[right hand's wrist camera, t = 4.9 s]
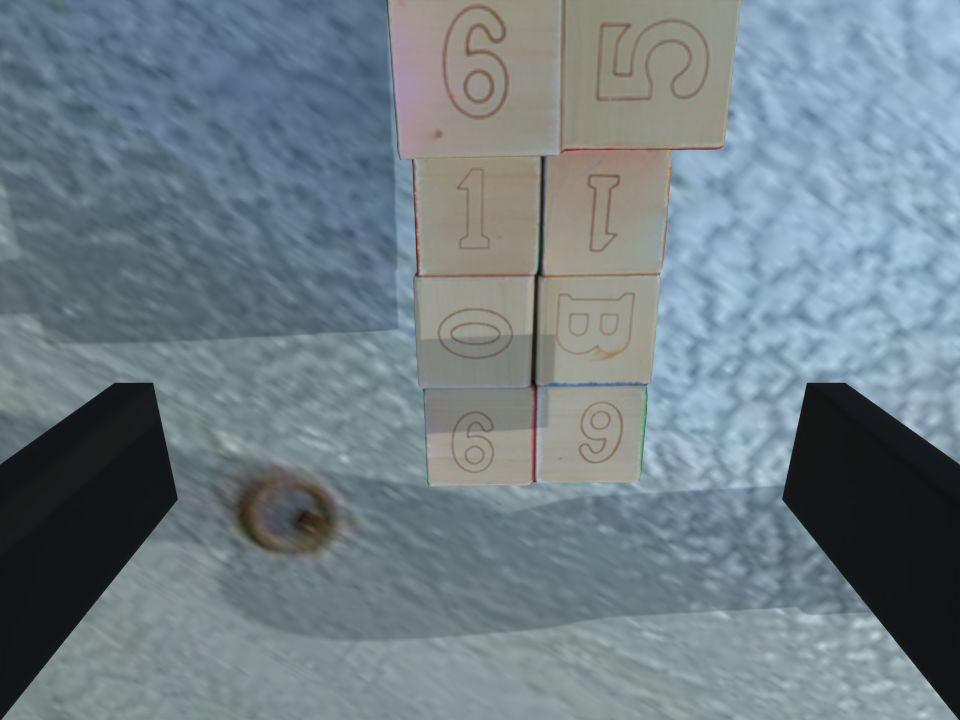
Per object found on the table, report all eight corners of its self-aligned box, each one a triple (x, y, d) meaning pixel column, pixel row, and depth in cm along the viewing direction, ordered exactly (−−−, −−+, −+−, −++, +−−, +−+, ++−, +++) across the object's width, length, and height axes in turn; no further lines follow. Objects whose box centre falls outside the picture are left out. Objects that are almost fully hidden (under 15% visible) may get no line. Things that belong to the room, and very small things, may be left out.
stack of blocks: (583, 365, 26) (673, 560, 14) (436, 367, 26) (409, 563, 14) (626, -302, 18) (896, -1036, 7) (415, -303, 18) (317, -1047, 7)
